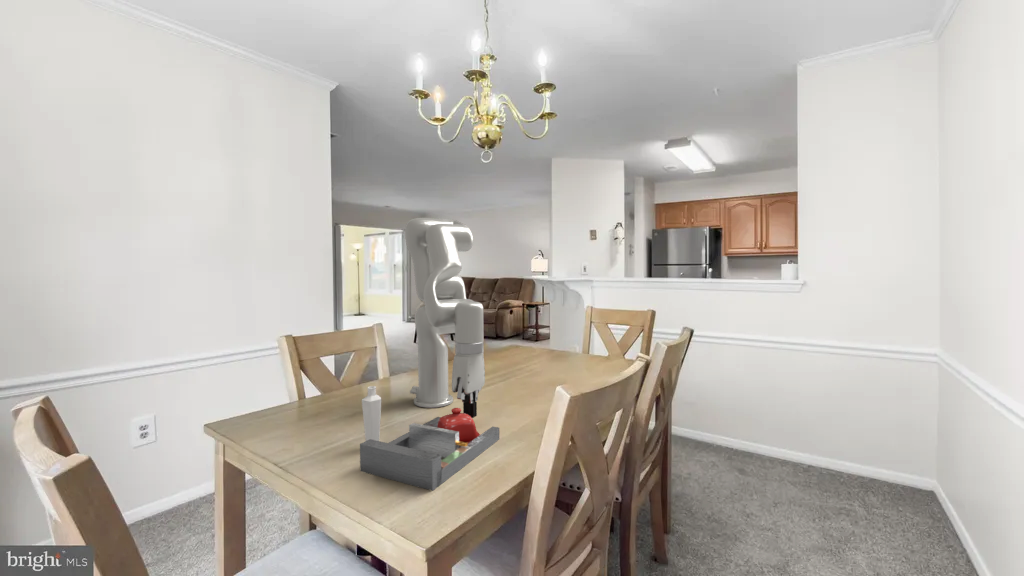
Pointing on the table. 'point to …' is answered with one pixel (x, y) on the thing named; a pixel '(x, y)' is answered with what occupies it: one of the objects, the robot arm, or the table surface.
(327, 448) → the table surface
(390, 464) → the grey open box
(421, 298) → the robot arm
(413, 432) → the brushed metal plate
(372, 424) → the perfume bottle
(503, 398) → the table surface
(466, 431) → the butter dish
